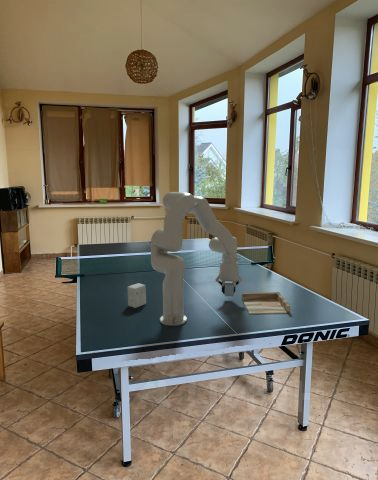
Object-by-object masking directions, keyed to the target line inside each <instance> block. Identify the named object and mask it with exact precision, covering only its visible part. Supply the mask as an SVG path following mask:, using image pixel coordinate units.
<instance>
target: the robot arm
mask: <svg viewBox="0 0 378 480" xmlns="http://www.w3.org/2000/svg"><path fill="white" fill-rule="evenodd" d="M162 204H163V207H165V209H166V210H167V212H165V216H164V217H163V219H164V220H163V228H159V229H156V230H155V231H154V232H153V233H152V234H151V235H152V236H151V239H150V264H151V267H152V269H153V270H154V271H156V272H158V273H162V274H165V276H164V279H163V281H162V312H163V313H162V315H161V316H160V317H159V322H160V323H161V324H162V325H165V326H171V327H175V326H176V327H177V326H182V325H184V324H185V323H186V322H187V321H188V317H187V316H186V315H184V313H185V312H184V309H185V308H184V278H185V277H184V276H185V272H186V262H185V260H184V258H182V257H181V256H179V255H177V254H173V253H177V252H179V251H181V249H182V247H183V225H184V219H185V217H186V216H187V214H192V215H194V216H195V218H196V220H197V222H198V224H199V226H200V228H201V229H202V230H203V231H205V232H206V233H208V234H209V235H212V236H214V237H212V238H211V239H210V240H209V242H208V247H209V250H211V251H212V252H215V253H218V254H222V255H221V256H222V261H220V263H219V271H218V273H219V274H218V276H217V277H216V278H215V282H217V283H218V284H219V285H220V286H221V293H222V294H223V295H224V294H225V287H224V284H225V282H232V283H233V285H234V293H236V287H237V286H238V285H239V284H240V283H241V282H243V279H242V277H241V276H240V275H239V274H240V271H239V262H238V261H240V257H238V238H237V237H235V236H233V235H232V233H231V232H230V231H229V229H228V228H227V227H225V226H224V225H223V224H222V223H221V222H220V221H218V219H217V218H216V215H215V214H214V212H213V210H212V207H211V205H210V203H209V202H208V199H206V197H204V196H197V195H193V194H192V193H189V192H184V191H183V192H181V191H169V192H167V193H165V194H164V196H163V197H162ZM169 252H170V253H169Z"/></svg>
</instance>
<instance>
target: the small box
mask: <svg viewBox="0 0 378 480" xmlns="http://www.w3.org/2000/svg"><path fill="white" fill-rule="evenodd" d="M126 288H127V302H128V303H127V305H128V307H132V308H134V309H136V308H140V307H141V306H144V305H146V304H147V290H146V289H147V288H146V284H142V283H139V282H138V283H135V284H131V285H129V286H127V287H126Z"/></svg>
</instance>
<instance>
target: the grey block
mask: <svg viewBox="0 0 378 480" xmlns="http://www.w3.org/2000/svg"><path fill="white" fill-rule="evenodd" d="M224 287H225V294H223V295H224V297H234V295H235V292H234V285H233V281H225V284H224Z"/></svg>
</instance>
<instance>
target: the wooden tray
mask: <svg viewBox="0 0 378 480" xmlns="http://www.w3.org/2000/svg"><path fill="white" fill-rule="evenodd" d="M241 301H242V302H243V305H244V307H245V309H246V310H247V312H248V315H273V314H274V315H277V314H278V315H279V314H291V305H290V303H289V301H287V300H286V299H285V298H284V296H283V295H282V294H281V293H280V292H279V291H277V292H271V291H270V292H268V291H267V292H242V293H241Z"/></svg>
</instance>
